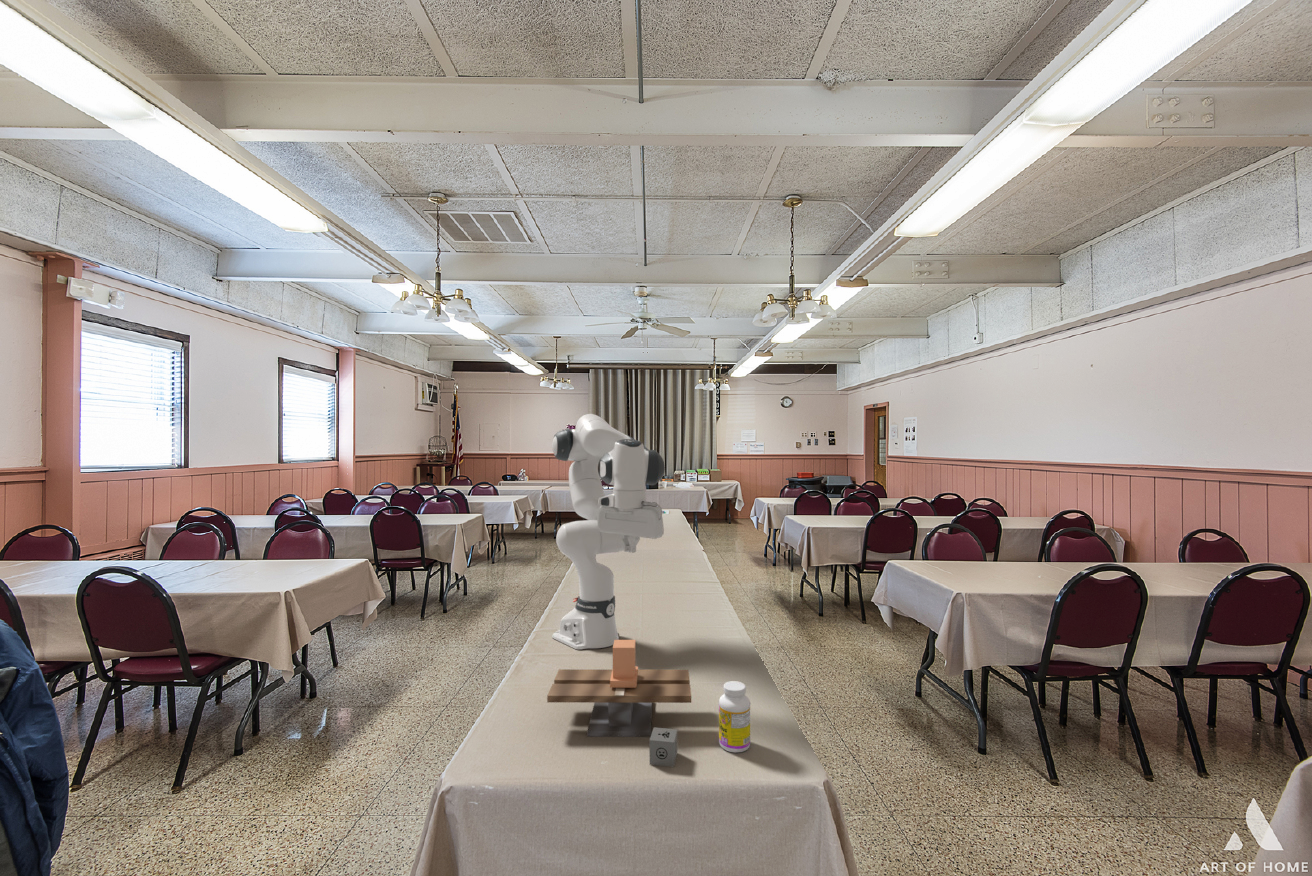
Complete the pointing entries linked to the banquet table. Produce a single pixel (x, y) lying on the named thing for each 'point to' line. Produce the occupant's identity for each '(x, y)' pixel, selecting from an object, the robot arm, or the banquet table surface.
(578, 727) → the banquet table surface
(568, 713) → the banquet table surface
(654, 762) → the dice cube
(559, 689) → the balance beam
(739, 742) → the supplement bottle
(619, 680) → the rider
